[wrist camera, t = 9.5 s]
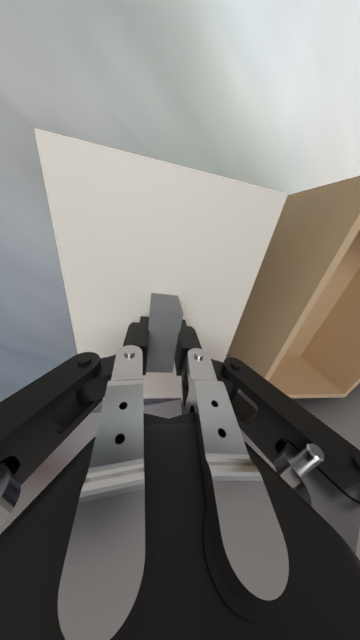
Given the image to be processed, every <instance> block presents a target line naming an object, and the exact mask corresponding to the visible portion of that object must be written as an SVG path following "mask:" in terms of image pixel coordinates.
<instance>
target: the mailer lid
mask: <svg viewBox="0 0 360 640" xmlns="http://www.w3.org/2000/svg"><path fill="white" fill-rule="evenodd" d="M34 130H35V135H36V140H37V145H38V150H39V156H40V161H41V166H42V171H43V176H44V181H45V187H46V192H47V197H48V202H49V207H50V212H51V218H52V223H53V228H54V233H55V238H56V243H57V249H58V254H59V259H60V264H61V269H62V274H63V280H64V285H65V290H66V295H67V300H68V305H69V311H70V316H71V321H72V326H73V331H74V336H75V342H76V347H77V352H78V354H80V353H83V352H94V353H96V354H98V355H99V356H100V358H105V357H110V356H113V355H115V354H116V353H117V351H118V350H119V349H120V348H121V347H122V346H123V343H124V340H125V336H126V333H127V330H128V326H129V325H130V324H131V323H132V322H140V317H141V316H146V317H149V326H148V330H149V341H148V355H147V367H146V375H143V398H181V387H180V385H181V380H182V378H181V376H176V368H175V360H174V357H175V351H176V346H177V340H178V334H179V332H180V329H181V324H182V319H184V320H185V321H186V324H187V326H192V327H193V328H194V329H195V331H196V334H197V336H198V339H199V342H200V344H201V347H202V349H203V350H204V351H206V352H207V353H208V354H209V355H210V358H211V359H213V360H216V361H220V362H224V360H225V358H226V355H227V353H228V350H229V347H230V345H231V342H232V340H233V337H234V334H235V332H236V329H237V326H238V324H239V321H240V319H241V316H242V313H243V311H244V308H245V306H246V303H247V300H248V298H249V295H250V292H251V290H252V287H253V285H254V282H255V279H256V277H257V274H258V271H259V269H260V266H261V264H262V261H263V258H264V256H265V253H266V251H267V248H268V245H269V243H270V240H271V237H272V235H273V232H274V230H275V227H276V224H277V222H278V219H279V216H280V214H281V211H282V209H283V206H284V203H285V201H286V198H287V196H288V193H284V192H281V191H277V190H273V189H269V188H265V187H261V186H257V185H253V184H250V183H246V182H242V181H238V180H234V179H230V178H226V177H222V176H218V175H215V174H211V173H207V172H203V171H199V170H195V169H191V168H187V167H184V166H180V165H176V164H172V163H168V162H164V161H160V160H156V159H152V158H149V157H145V156H141V155H137V154H133V153H129V152H125V151H121V150H118V149H114V148H110V147H106V146H102V145H98V144H94V143H90V142H86V141H83V140H79V139H75V138H71V137H67V136H63V135H59V134H55V133H52V132H48V131H44V130H40V129H36V128H34ZM103 399H104V398H103Z"/></svg>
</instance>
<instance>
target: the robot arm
mask: <svg viewBox="0 0 360 640" xmlns="http://www.w3.org/2000/svg"><path fill="white" fill-rule="evenodd" d="M148 326H149V317H146V316H141V317H140V322H132V323H131V324H130V325H129V326H128V330H127V333H126V336H125V340H124V343H123V346H122V347H121V348H120V349H119V350H118V351H117V353H116V354H115V355H113V356H110V357H105V358H100V356H99V355H98V354H96V353H94V352H83V353H80V354H77V355H75V356H74V357H72V358H70V359H69V360H67V361H66V362H64V363H62V364H61V365H59V366H58V367H56V368H54V369H53V370H51V371H50V372H48V373H46V374H45V375H43V376H42V377H40V378H38V379H37V380H35V381H34V382H32V383H30V384H29V385H27V386H26V387H24V388H22V389H21V390H19V391H18V392H16V393H14V394H13V395H11V396H10V397H8V398H6V399H5V400H3V401H2V402H0V526H1V525H2V524H3V522H4V521H5V520H6V519H7V518H8V516H9V515H10V513H11V512H12V510H13V508H14V507H15V505H16V503H17V501H18V499H19V496H20V492H21V485H22V484H23V482H24V481H25V480H26V479H27V478H28V477H29V476H30V475H31V474H32V473H33V472H34V471H35V470H36V469H37V468H38V467H39V466H40V465H41V464H42V463H43V461H45V459H46V458H47V457H48V456H49V455H50V454H51V453H52V452H53V451H54V450H55V449H56V448H57V447H58V446H59V445H60V444H61V443H62V442H63V441H64V440H65V439H66V438H67V437H68V435H69V434H70V433H71V432H72V431H73V430H74V429H75V428H76V427H77V426H78V425H79V424H80V423H81V422H82V421H83V420H84V419H85V418H86V417H87V416H88V415H89V414H90V413H91V411H92V410H93V409H94V408H95V407H96V406H97V405H98V404H99V403H100V402H101V401H102V399H103V398H104V401H103V406H102V410H101V415H100V420H99V424H98V429H97V433H96V437H94V438H93V439H92V440H91V441H90V442H89V443H88V444H87V445H86V446H85V447H84V448H83V449H82V450H81V451H80V452H79V453H78V454H77V455H76V456H75V457H74V459H73V460H72V461H71V462H70V463H69V464H68V465H67V466H66V467H65V468H64V469H63V470H62V471H61V472H60V473H59V474H58V475H57V476H56V477H55V478H54V479H53V480H52V481H51V483H49V484H48V486H47V487H46V488H45V489H44V490H43V491H42V492H41V493H40V494H39V495H38V496H37V497H36V498H35V499H34V500H33V501H32V502H31V503H30V504H29V505H28V507H26V508H25V510H23V512H22V513H21V514H20V515H19V516H18V517H17V518H16V519H15V520H14V521H13V522H12V523H11V524H10V525H9V526H8V527H7V528H6V529H5V530H4V531H3V532H2V533H1V534H0V640H360V560H359V558H358V557H357V556H356V554H355V553H356V547H357V540H358V534H359V527H360V450H358V449H357V448H356V447H355V446H353V445H352V444H350V443H349V442H348V441H347V440H345V439H344V438H343V437H341V436H340V435H339V434H337V433H336V432H335V431H333V430H332V429H331V428H329V427H328V426H327V425H325V424H324V423H323V422H321V421H320V420H319V419H318V418H316V417H315V416H314V415H312V414H311V413H309V412H308V411H307V410H306V409H304V408H303V407H301V406H300V405H299V404H298V403H296V402H295V401H294V400H292V399H291V398H290V397H288V396H287V395H286V394H284V393H283V392H282V391H280V390H279V389H278V388H276V387H275V386H274V385H273V384H271V383H270V382H269V381H267V380H266V379H265V378H263V377H262V376H261V375H259V374H258V373H257V372H255V371H254V370H253V369H251V368H250V367H249V366H247V365H246V364H245V363H243V362H242V361H241V360H239V359H236V358H232V357H229V358H226V359H225V360H224V362H220V361H216V360H213V359H211V358H210V355H209V354H208V353H207V352H206V351H204V350H203V349H202V347H201V344H200V342H199V339H198V336H197V334H196V331H195V329H194V328H193V327H192V326H187V324H186V321H185V320H184V319H182V324H181V329H180V332H179V334H178V340H177V346H176V351H175V357H174V360H175V368H176V376H181V378H182V380H181V385H180V387H181V406H182V415H180V416H177V417H174V418H170V419H167V418H162V417H158V416H154V415H150V414H143V375H146V367H147V355H148V341H149V330H148ZM239 389H240V390H241V391H242V392H244V393H245V394H246V395H247V396H248V397H249V398H250V399H251V400H253V401H254V402H255V404H256V405H257V407H258V411H257V410H256V409H255V408H253V406H251V405H250V404H249V403H248V402H247V401H246V400H245V399H244V398H243V397H242V396H241V395H240V394H239V393H238V390H239ZM239 427H240V428H241V429H242V431H243V432H244V433H245V434H246V435H247V436H248V437H249V438H250V439H251V440H252V441H253V443H254V444H255V445H256V446H257V447H258V448H259V449H260V450H261V451H262V452H263V454H264V455H265V456H266V457H267V458H268V459H269V460H270V461H271V462H272V463H273V465H274V466H275V469H276V472H275V471H274V470H273V469H272V468H271V467H270V466H269V465H268V464H267V463H266V462H265V461H264V460H263V459H262V458H261V457H260V456H259V455H258V454H257V453H256V452H255V451H254V450H253V449H252V448H251V447H250V446H249V445H248V444H247V443H246V442H245V441H244V440H243V437H242V434H241V431H240V428H239Z"/></svg>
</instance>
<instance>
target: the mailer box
mask: <svg viewBox="0 0 360 640" xmlns="http://www.w3.org/2000/svg"><path fill="white" fill-rule="evenodd" d="M227 354H228V356H229V357H232V358H236V359H239V360H241V361H242V362H243V363H245V364H246V365H247V366H249V367H250V368H251V369H253V370H254V371H255V372H257V373H258V374H259V375H261V376H262V377H263V378H265V379H266V380H267V381H269V382H270V383H271V384H273V385H274V386H275V387H276V388H278V389H279V390H280V391H282V392H283V393H284V394H286V395H287V396H288V397H290V398H327V397H328V398H330V397H346V396H347V395H348V393H350V392H351V391H352V390H353V389H354V388H355V387H356V386H357V385H358V384H359V382H360V176H358V177H354V178H350V179H346V180H343V181H339V182H335V183H332V184H328V185H324V186H321V187H317V188H313V189H309V190H306V191H302V192H298V193H295V194H291V195H288V196H287V198H286V201H285V203H284V206H283V209H282V211H281V214H280V216H279V219H278V222H277V224H276V227H275V230H274V232H273V235H272V237H271V240H270V243H269V245H268V248H267V251H266V253H265V256H264V258H263V261H262V264H261V266H260V269H259V271H258V274H257V277H256V279H255V282H254V285H253V287H252V290H251V292H250V295H249V298H248V300H247V303H246V306H245V308H244V311H243V313H242V316H241V319H240V321H239V324H238V326H237V329H236V332H235V334H234V337H233V340H232V342H231V345H230V347H229V350H228V353H227Z"/></svg>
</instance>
